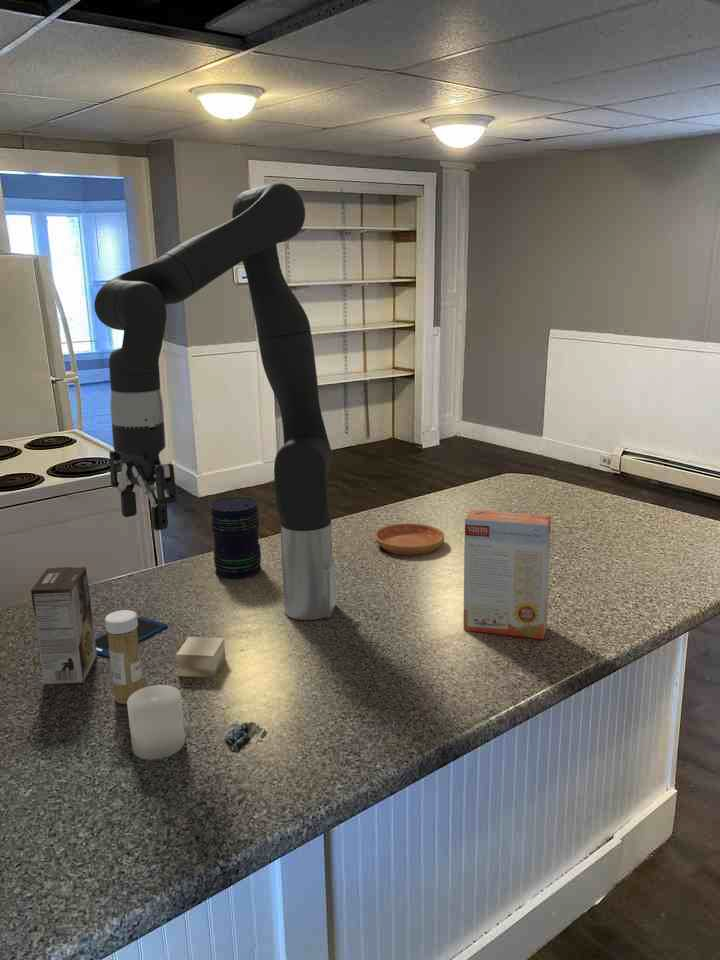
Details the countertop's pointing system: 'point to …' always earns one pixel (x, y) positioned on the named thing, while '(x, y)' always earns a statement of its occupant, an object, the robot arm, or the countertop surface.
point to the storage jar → (236, 538)
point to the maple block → (201, 657)
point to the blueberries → (241, 735)
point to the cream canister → (156, 722)
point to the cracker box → (506, 573)
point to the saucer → (409, 538)
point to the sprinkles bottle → (124, 654)
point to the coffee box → (64, 625)
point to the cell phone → (144, 631)
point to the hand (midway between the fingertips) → (144, 522)
